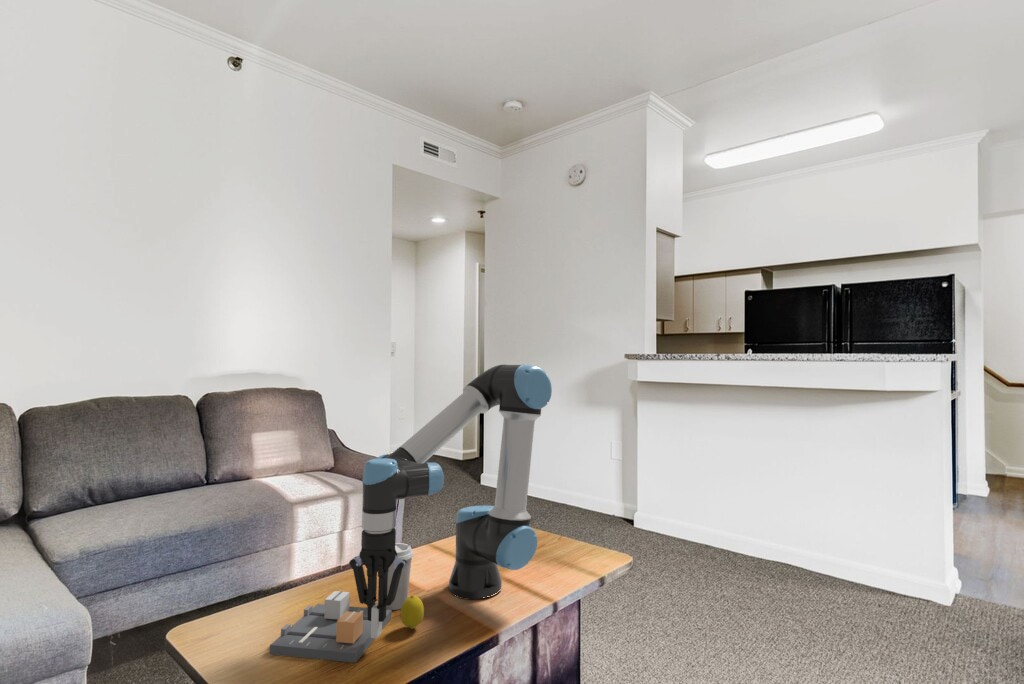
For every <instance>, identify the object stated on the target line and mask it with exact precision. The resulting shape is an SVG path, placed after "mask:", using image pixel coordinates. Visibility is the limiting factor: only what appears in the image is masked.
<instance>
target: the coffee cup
mask: <svg viewBox="0 0 1024 684" xmlns="http://www.w3.org/2000/svg"><path fill="white" fill-rule="evenodd" d="M395 550H396V552H397V557H399V558H400V559H401V560H406V561H407V563H406V565H405V567H404V568H403V570H402V573H401V577H400V581H399V585H398V589H397V592H396V596H395V600H394V601H393V602H392V604H391V605H390V606H388V605H387V606H386V610H392V611H397V610H401V608H402V605H403V603H404V601H405V600H406V599H407V598H409V597H408V596H409V587H410V578H411V577H410V575H411V569H412V561H413V560H412V558H413V557H414V555H415V554H414V551H413V549H412V546H411V545H410V544H407V543H404V542H403V543H402V542H396V543H395ZM394 570H395V568H394V562H393V563H392V564H391V566H390V567H389V571H388V587H387V596H388V592H389V588H390V584H391V580H392V576H393V573H394Z"/></svg>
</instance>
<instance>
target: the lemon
mask: <svg viewBox="0 0 1024 684" xmlns="http://www.w3.org/2000/svg"><path fill="white" fill-rule="evenodd" d="M424 616H425V607H424V604H423V601H422V600H421V598H419V597H418V596H415V595H413V594H412V595H410V596H409V597H408V598H407V599H406V600H405V601H404V603H403V605H402V608H401V609H400V618H401V622H402V623H403V625H404V626H405V627H407V628H409V629H410V630H413V629H415V627H418V626H419V625H420V624H422V621H423V619H424Z"/></svg>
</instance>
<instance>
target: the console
mask: <svg viewBox="0 0 1024 684" xmlns="http://www.w3.org/2000/svg"><path fill="white" fill-rule="evenodd" d="M392 611H393V610H387V609H386V618H385V620H384V621H383V622H382V630H383V629H384V628H386V626H387V624H388V623H389V622H390V620H392V613H393V612H392ZM349 612H360V613H363V633H362V634H361V635H360V636H359V637H358V639H357V640H356V641H355V642H354V643H353V644H352V643H342V642H336V631H337V621H338V620H337V619H326V618H324V615H325V603H317V604H316V605H314V606H313V605H308V606H307V607H305V608H304V609H303V616H302V617H301V618H300V619H298V620H297V621H296V622H295V623H294V624H292V625H291V624H290V623H286V624H285V625H284V626H283V627H281V629H280V636H279V637H278V638H277V639H275V640H274V641H273V642H272V643H270V645H269V654H270V655H277V656H286V657H295V658H302V659H303V658H305V659H314V660H324V661H325V660H326V661H334V662H344V663H345V662H346V663H353V664H354V663H355V664H356V663H357V662H358V661H359V659H360V658H361V657H362V656H363V655H364V653H365V651H367V649H368V648H369V647H370V645H371V644H372V643H373V642H374V641H375V640H376V638H371V621H368V607H360V606H349Z"/></svg>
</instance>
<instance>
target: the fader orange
mask: <svg viewBox="0 0 1024 684" xmlns="http://www.w3.org/2000/svg"><path fill="white" fill-rule="evenodd" d="M362 633H363V613H360V612H349V611H347V612H346V613H345V614H344V615H343V616H342V617H341V618H340V619H339V620H338V621H337V631H336V642H342V643H352V644H353V643H354V642H355V641H356V640H357V639H358V637H359V636H360V635H361V634H362Z"/></svg>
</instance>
